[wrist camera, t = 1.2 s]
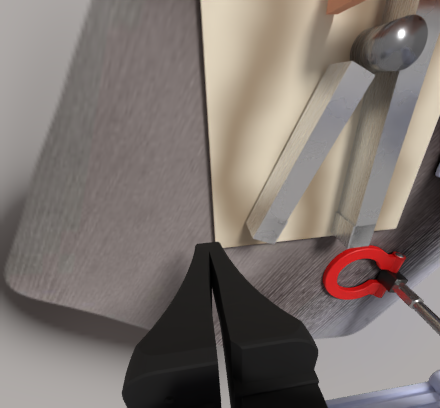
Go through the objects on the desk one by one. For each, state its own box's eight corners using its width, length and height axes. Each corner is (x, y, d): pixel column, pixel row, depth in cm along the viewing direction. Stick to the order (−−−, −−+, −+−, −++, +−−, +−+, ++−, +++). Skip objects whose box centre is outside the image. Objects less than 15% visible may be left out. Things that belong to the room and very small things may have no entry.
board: (490, -56, 15) (508, -65, 14) (388, 223, 26) (395, 228, 25) (196, -61, 13) (196, -71, 13) (215, 242, 24) (215, 248, 23)
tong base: (424, -44, 14) (482, -76, 12) (350, 229, 24) (371, 248, 21) (368, -44, 14) (413, -78, 11) (315, 233, 24) (332, 253, 21)
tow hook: (312, 292, 30) (374, 294, 32) (381, 414, 19) (475, 410, 20) (334, 240, 27) (403, 245, 28) (436, 353, 15) (546, 353, 16)
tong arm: (351, 77, 17) (377, 76, 14) (265, 228, 22) (274, 244, 20) (328, 64, 16) (352, 60, 14) (245, 222, 22) (252, 238, 19)
